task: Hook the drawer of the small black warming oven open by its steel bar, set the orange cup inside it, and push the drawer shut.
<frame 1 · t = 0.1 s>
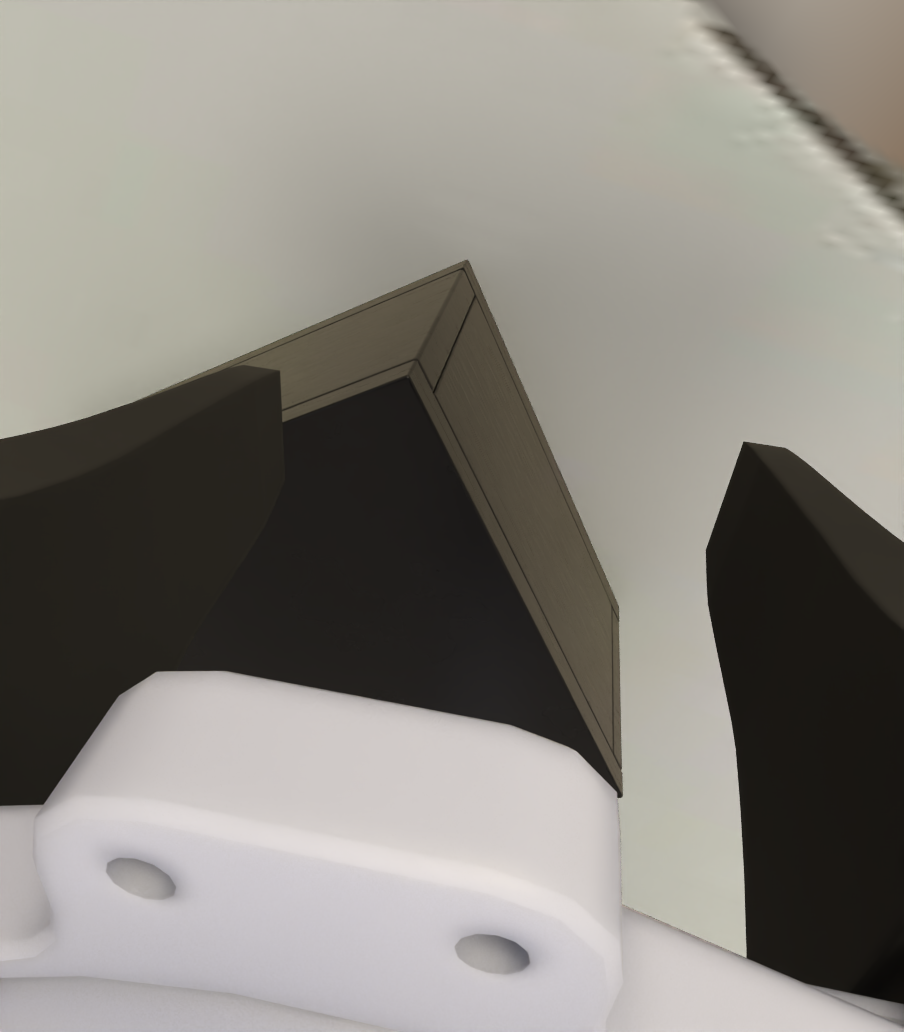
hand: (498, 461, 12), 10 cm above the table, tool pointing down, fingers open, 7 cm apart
cabinet: (355, 516, 26), on the table
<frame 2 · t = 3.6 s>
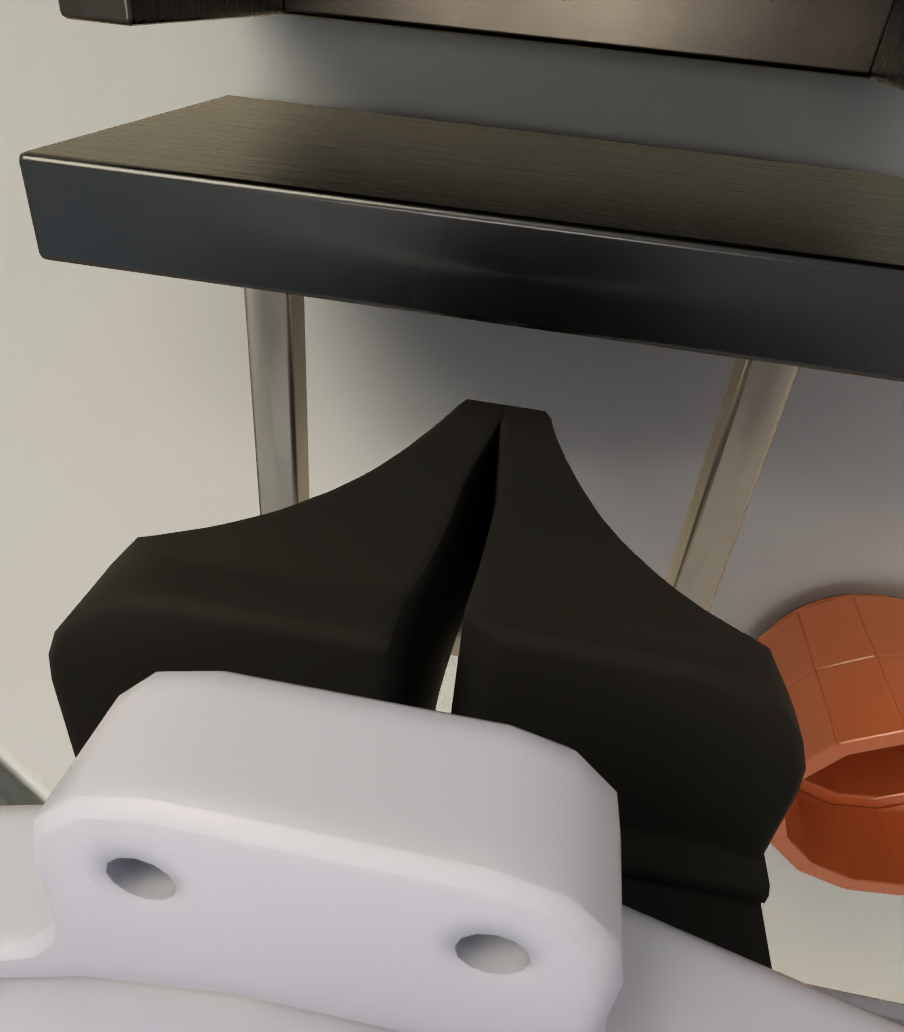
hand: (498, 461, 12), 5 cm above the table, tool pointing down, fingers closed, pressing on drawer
orange cup: (848, 664, 19), on the table
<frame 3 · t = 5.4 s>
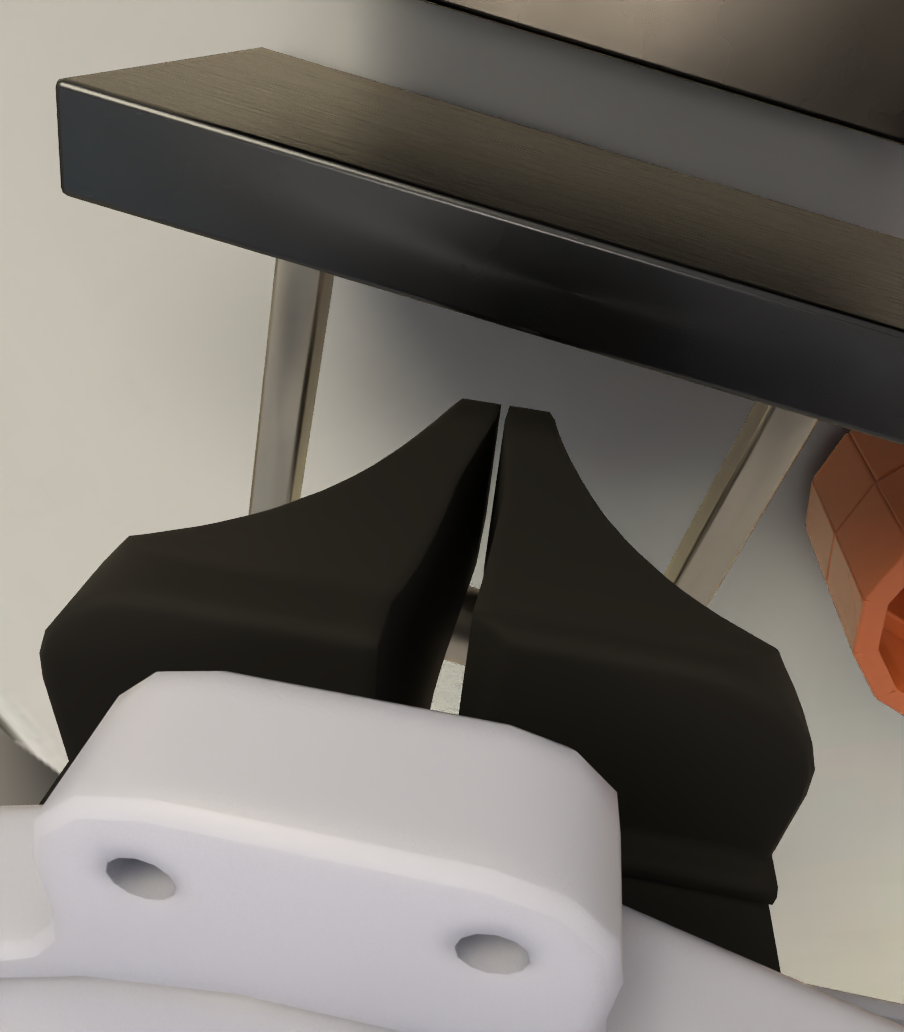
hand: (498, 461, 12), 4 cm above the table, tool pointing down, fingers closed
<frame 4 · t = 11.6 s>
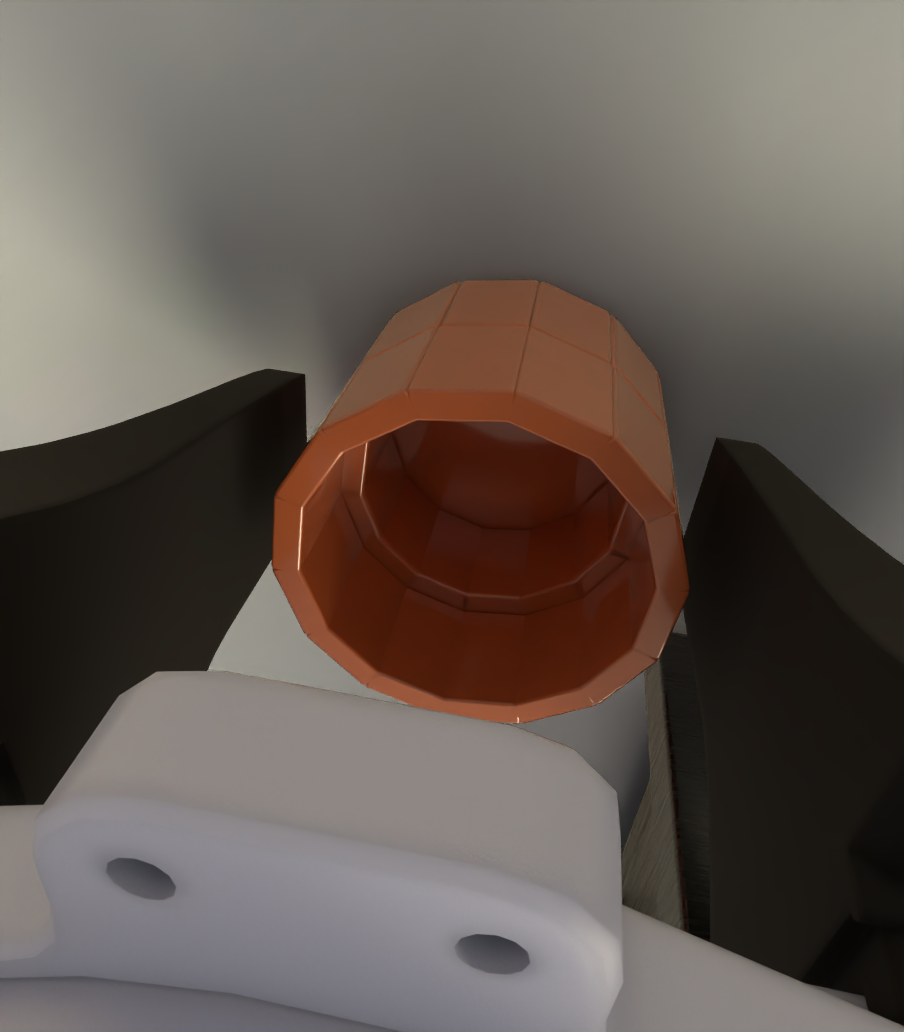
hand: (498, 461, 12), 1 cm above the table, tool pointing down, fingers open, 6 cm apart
orange cup: (507, 420, 13), on the table
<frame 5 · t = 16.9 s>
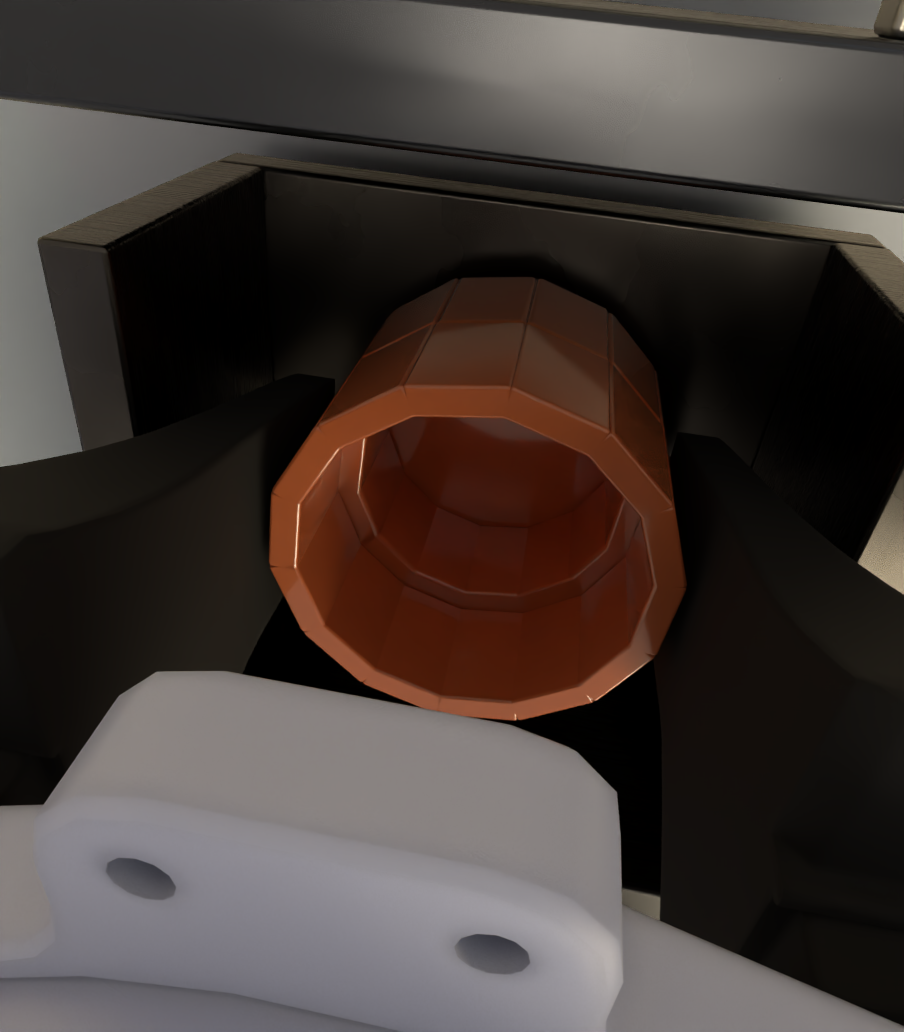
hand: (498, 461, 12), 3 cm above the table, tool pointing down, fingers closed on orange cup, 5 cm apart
cabinet: (463, 744, 21), on the table
orange cup: (505, 418, 13), point 2 cm above the table, touching gripper
drawer: (516, 324, 11), point 4 cm above the table, slide at 9.0 cm, touching gripper
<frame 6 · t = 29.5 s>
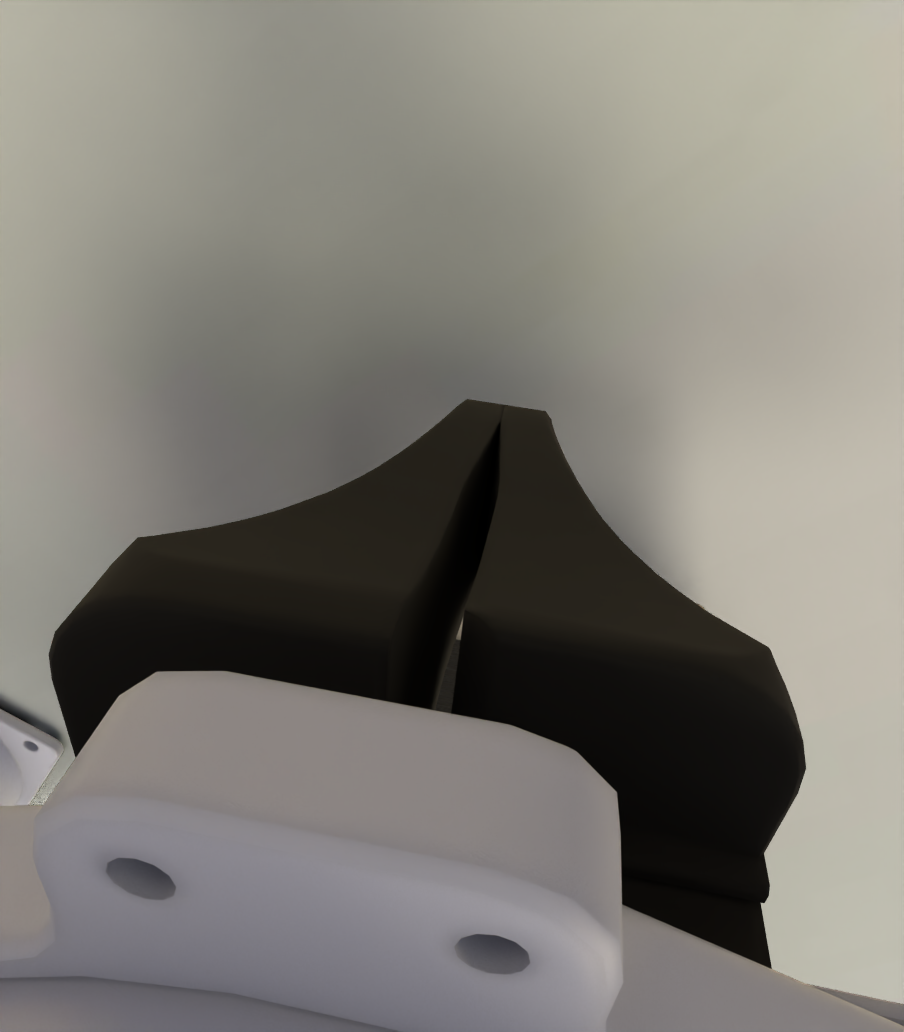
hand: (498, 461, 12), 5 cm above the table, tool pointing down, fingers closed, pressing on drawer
drawer: (451, 807, 19), point 4 cm above the table, slide at 8.1 cm, touching orange cup, gripper
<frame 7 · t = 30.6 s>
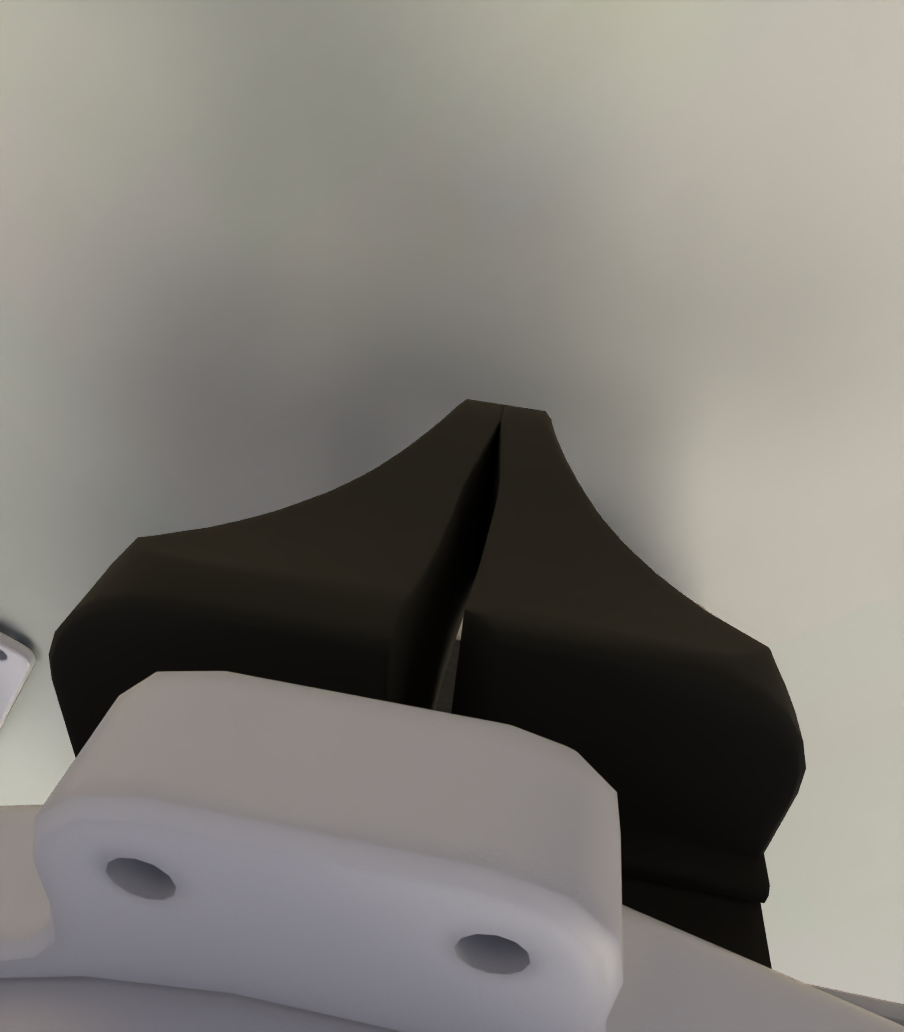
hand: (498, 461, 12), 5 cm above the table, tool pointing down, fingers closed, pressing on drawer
drawer: (451, 807, 19), point 4 cm above the table, slide at 3.7 cm, touching orange cup, gripper
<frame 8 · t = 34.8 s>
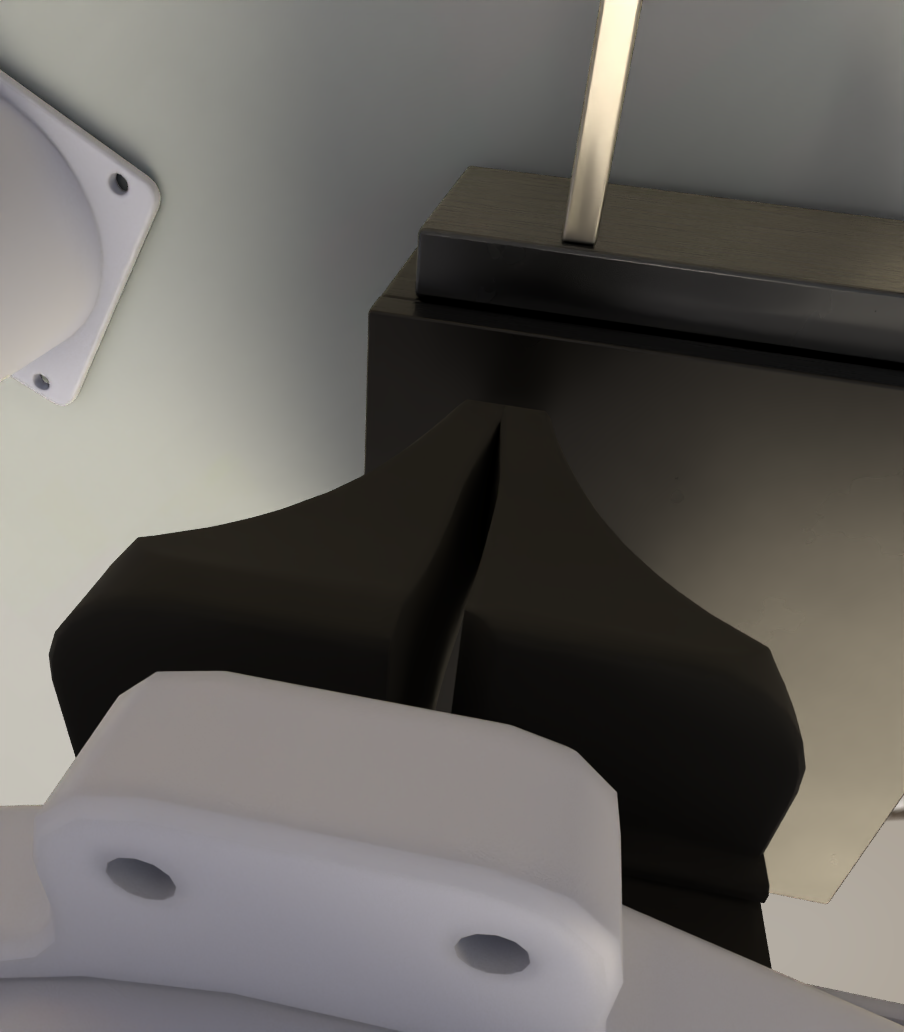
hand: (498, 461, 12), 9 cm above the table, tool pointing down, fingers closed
cabinet: (635, 485, 23), on the table
drawer: (687, 402, 17), point 4 cm above the table, slide at 0.0 cm, touching orange cup
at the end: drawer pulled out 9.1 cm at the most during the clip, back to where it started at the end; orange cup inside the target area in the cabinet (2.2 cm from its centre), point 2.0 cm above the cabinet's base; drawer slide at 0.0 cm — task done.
